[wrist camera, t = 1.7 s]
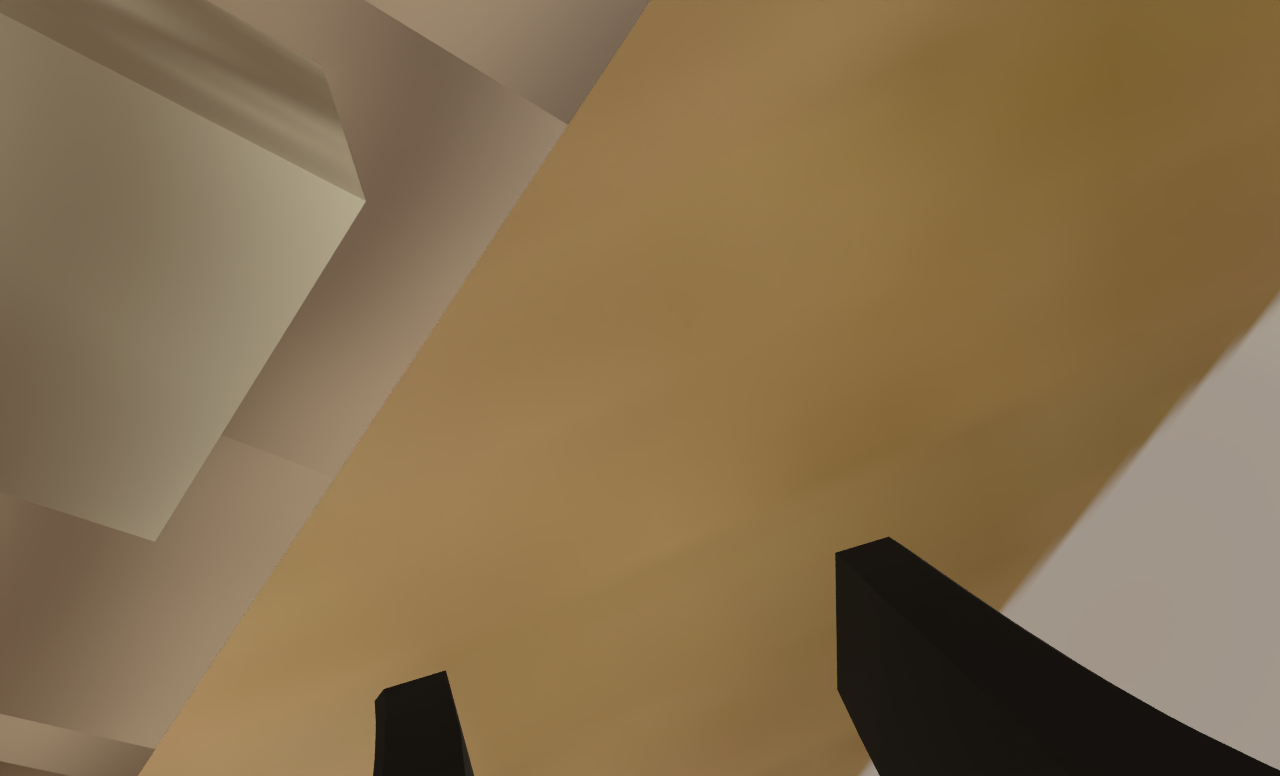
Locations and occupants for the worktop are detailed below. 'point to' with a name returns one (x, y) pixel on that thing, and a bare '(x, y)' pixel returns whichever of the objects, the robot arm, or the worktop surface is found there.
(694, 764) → the worktop surface
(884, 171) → the worktop surface
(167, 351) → the maple block
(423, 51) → the trap box
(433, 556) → the worktop surface
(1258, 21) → the worktop surface
